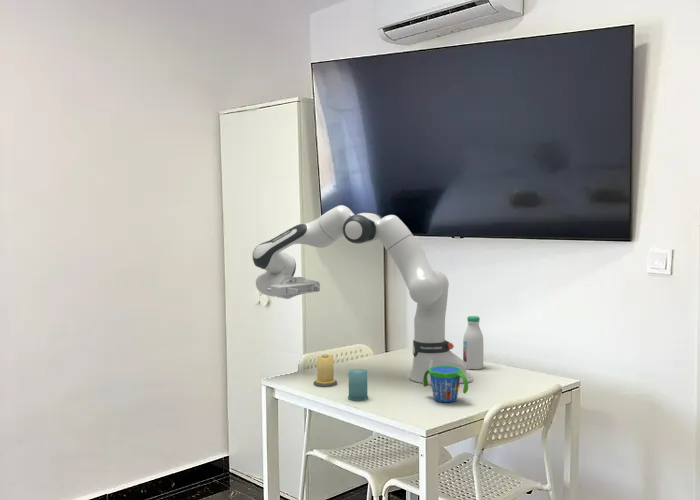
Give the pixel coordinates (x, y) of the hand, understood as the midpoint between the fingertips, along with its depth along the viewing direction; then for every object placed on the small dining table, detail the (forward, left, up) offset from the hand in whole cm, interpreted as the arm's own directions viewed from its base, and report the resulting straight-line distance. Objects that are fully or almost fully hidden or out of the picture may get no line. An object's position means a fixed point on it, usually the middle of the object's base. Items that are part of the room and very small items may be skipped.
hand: (308, 290), depth 257 cm
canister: (-15, +31, -32) cm, 47 cm away
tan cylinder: (-6, +12, -31) cm, 34 cm away
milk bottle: (-63, -6, -32) cm, 71 cm away
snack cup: (-43, +36, -32) cm, 65 cm away
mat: (-5, +12, -32) cm, 35 cm away
